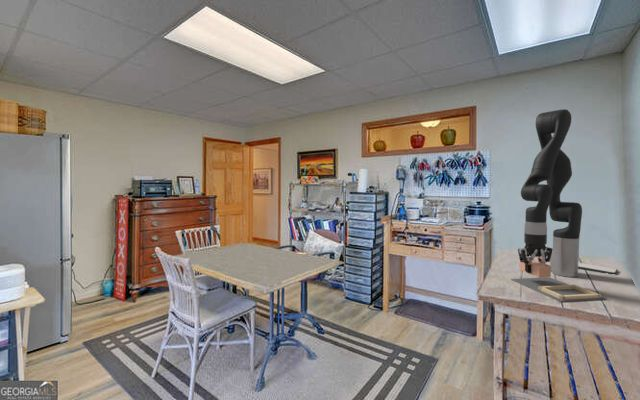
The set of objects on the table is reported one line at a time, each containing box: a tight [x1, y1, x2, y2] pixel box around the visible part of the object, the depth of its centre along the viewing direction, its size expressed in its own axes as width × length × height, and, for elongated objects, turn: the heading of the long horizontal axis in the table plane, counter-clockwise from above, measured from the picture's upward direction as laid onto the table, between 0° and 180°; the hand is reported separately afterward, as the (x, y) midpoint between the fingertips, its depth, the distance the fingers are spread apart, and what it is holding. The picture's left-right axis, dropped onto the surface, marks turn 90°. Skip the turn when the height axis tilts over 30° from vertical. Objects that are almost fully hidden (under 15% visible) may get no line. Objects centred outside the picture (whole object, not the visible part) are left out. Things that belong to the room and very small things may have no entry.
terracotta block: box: [519, 259, 552, 278], centre depth 123 cm, size 10×5×4 cm, turn 5°
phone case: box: [578, 262, 619, 275], centre depth 142 cm, size 9×2×16 cm
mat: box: [510, 277, 608, 303], centre depth 117 cm, size 24×18×2 cm
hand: (534, 272), depth 123 cm, fingers closed on terracotta block, 5 cm apart
